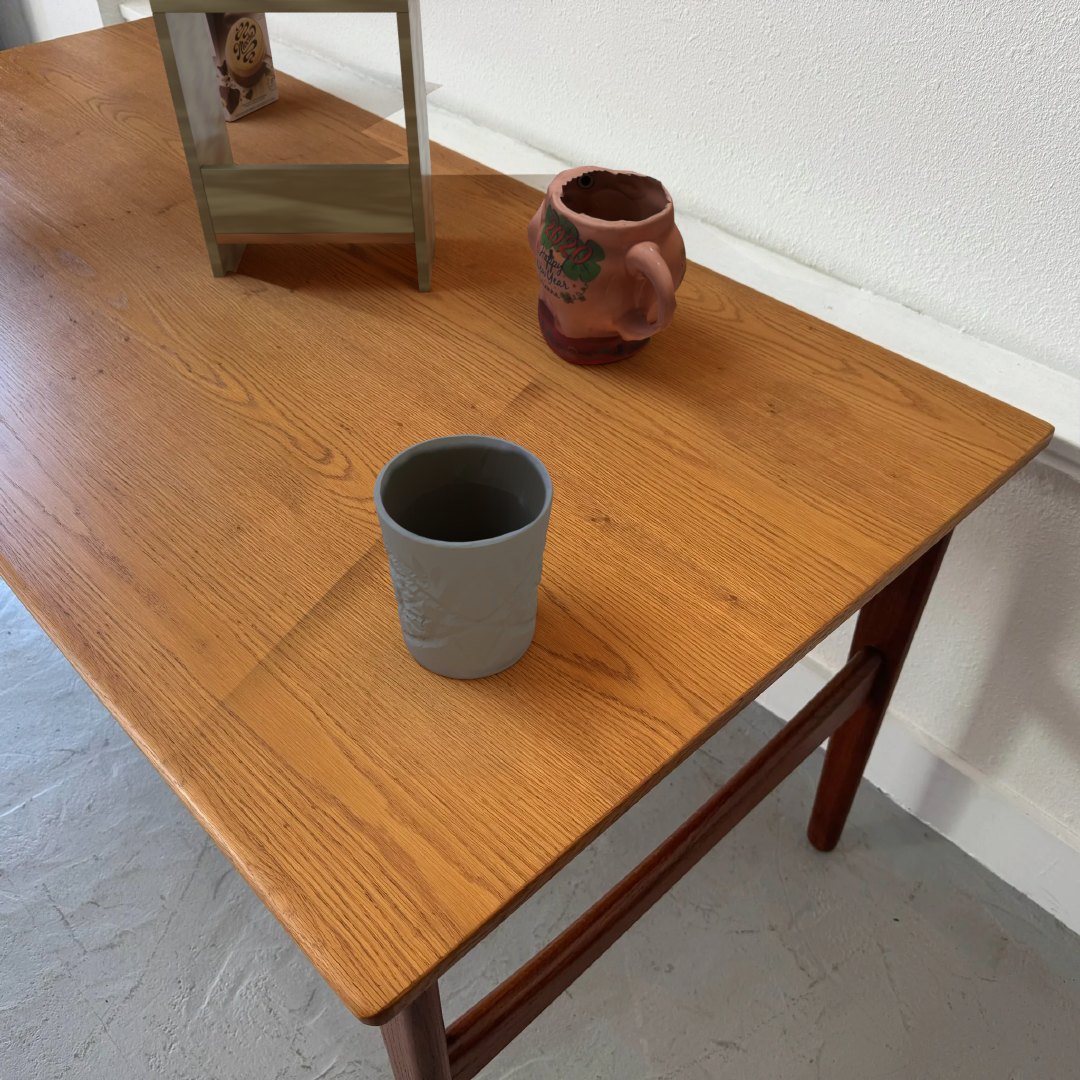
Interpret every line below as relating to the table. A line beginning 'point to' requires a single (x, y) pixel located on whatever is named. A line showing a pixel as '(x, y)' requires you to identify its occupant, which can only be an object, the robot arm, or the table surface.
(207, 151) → the shelf unit
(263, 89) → the coffee box
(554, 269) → the pink ceramic mug
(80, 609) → the table surface
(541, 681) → the table surface
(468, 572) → the grey cup
